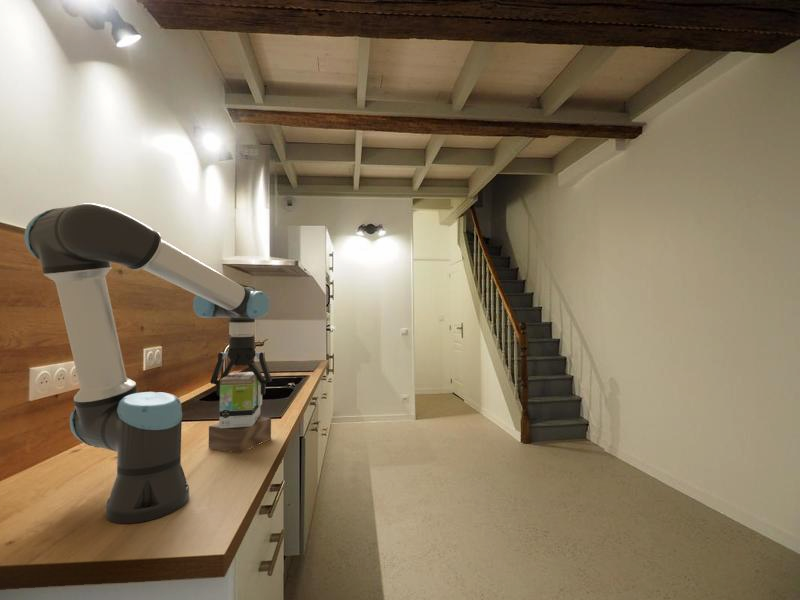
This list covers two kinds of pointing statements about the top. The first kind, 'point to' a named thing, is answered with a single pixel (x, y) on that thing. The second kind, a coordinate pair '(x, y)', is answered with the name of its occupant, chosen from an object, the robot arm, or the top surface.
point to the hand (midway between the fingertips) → (241, 405)
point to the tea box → (238, 400)
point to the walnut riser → (239, 436)
